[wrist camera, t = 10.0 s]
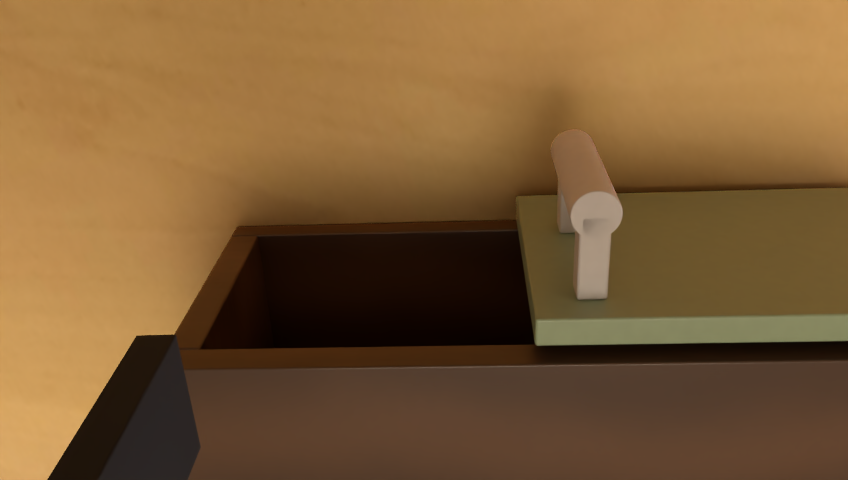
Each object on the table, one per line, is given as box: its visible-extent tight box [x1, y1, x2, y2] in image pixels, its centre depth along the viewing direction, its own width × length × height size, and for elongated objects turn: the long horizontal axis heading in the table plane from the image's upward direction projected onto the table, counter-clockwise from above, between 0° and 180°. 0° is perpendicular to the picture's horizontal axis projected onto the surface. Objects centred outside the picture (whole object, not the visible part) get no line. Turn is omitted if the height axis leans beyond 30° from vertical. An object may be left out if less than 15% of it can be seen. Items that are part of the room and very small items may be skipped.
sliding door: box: [516, 129, 848, 346], centre depth 29 cm, size 5×14×10 cm, turn 93°
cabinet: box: [174, 220, 848, 480], centre depth 33 cm, size 12×28×11 cm, turn 93°
